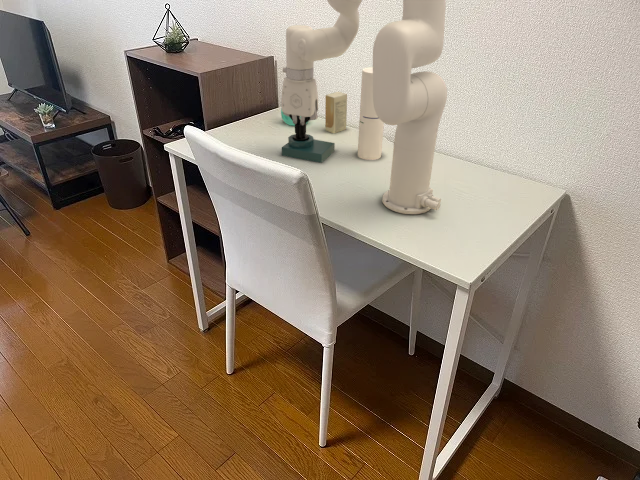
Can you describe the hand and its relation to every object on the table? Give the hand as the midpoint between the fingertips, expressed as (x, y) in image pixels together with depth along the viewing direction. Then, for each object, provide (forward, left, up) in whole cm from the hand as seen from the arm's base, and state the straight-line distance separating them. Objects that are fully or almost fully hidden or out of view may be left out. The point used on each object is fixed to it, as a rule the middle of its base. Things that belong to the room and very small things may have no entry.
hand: (300, 136), depth 147 cm
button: (0, 0, -2) cm, 2 cm away
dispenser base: (-3, -1, -5) cm, 6 cm away
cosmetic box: (+5, -22, -5) cm, 23 cm away
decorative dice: (+20, -18, -5) cm, 28 cm away
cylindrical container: (-17, -13, -5) cm, 22 cm away
